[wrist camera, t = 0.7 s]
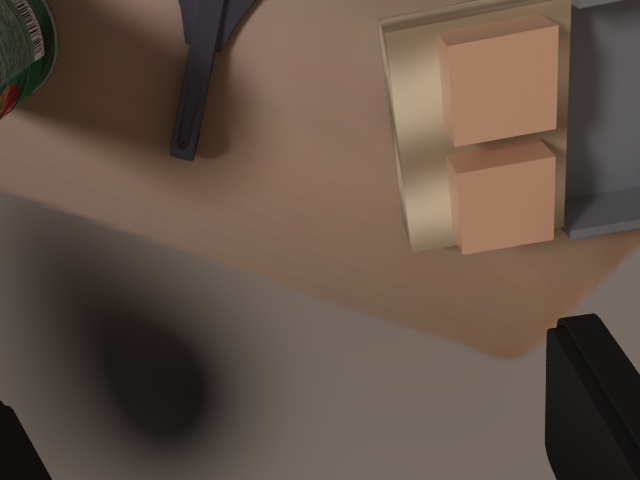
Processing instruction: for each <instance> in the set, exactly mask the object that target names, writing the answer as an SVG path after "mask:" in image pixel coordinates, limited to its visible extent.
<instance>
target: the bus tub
mask: <svg viewBox="0 0 640 480" xmlns="http://www.w3.org/2000/svg"><path fill="white" fill-rule="evenodd" d="M638 228H640V0H571V28H570V58H569V87H568V117H567V147H566V177H565V207H564V227H563V228H562V229H563V231H564V232H565V233H566V235H567V236H568V238H569V239H570V240H572V239H578V238H584V237H590V236H596V235H602V234H608V233H614V232H620V231H626V230H632V229H638Z"/></svg>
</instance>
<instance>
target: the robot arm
mask: <svg viewBox="0 0 640 480" xmlns="http://www.w3.org/2000/svg"><path fill="white" fill-rule="evenodd" d="M545 408H546V409H545V447H546V452H547V456H548V460H549V462H550V465H551V468H552V470H553V472H554V475H555V477H556V479H557V480H640V374H639V373H638V372H637V370H636V369H635V367H634V366H633V364H632V363H631V362H630V360H629V359H628V357H627V356H626V355H625V353H624V352H623V350H622V349H621V347H620V346H619V345H618V343H617V342H616V341H615V339H614V338H613V336H612V335H611V333H610V332H609V330H608V329H607V328H606V326H605V325H604V323H603V322H602V321H601V319H600V318H599V317H598V316H597V315H596V314H594V313H593V314H586V315H579V316H572V317H565V318H560V319H559V320H558V322H557V328H550V329H548V331H547V344H546V406H545ZM0 480H52V479H51V477H50V475H49V473H48V472H47V470H46V468H45V466H44V464H43V462H42V461H41V459H40V457H39V455H38V453H37V452H36V450H35V448H34V446H33V444H32V443H31V441H30V439H29V437H28V435H27V434H26V432H25V430H24V428H23V427H22V425H21V423H20V421H19V420H18V418H17V416H16V414H15V412H14V411H13V409H12V408H11V407H10V406H5V405H4V404H3V403H2V402H1V401H0Z"/></svg>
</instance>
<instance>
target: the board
mask: <svg viewBox="0 0 640 480" xmlns="http://www.w3.org/2000/svg"><path fill="white" fill-rule="evenodd" d="M536 14H541V15H543V16H544V17H546V18H548V19H549V20H551V21H553V22H554V23H556V24H558V25H559V35H558V77H557V120H556V129H553V130H548V131H542V132H536V133H531V134H525V135H520V136H514V137H509V138H503V139H497V140H492V141H486V142H481V143H475V144H470V145H464V146H459V147H454V145H453V143H452V141H451V140H450V138H449V136H448V134H447V133H446V131H445V129H444V118H443V105H442V93H441V80H440V67H439V55H438V42H437V34H438V33H443V32H448V31H453V30H458V29H464V28H469V27H474V26H479V25H484V24H490V23H495V22H500V21H505V20H510V19H516V18H521V17H526V16H531V15H536ZM378 24H379V31H380V39H381V47H382V55H383V63H384V71H385V79H386V87H387V95H388V102H389V110H390V118H391V126H392V134H393V142H394V150H395V158H396V165H397V173H398V181H399V189H400V197H401V205H402V213H403V221H404V228H405V231H406V235H407V238H408V242H409V245H410V248H411V252H412V253H415V252H421V251H427V250H433V249H439V248H445V247H451V246H457V245H458V244H457V241H456V239H455V237H454V234H453V232H452V219H451V207H450V194H449V181H448V169H447V156H446V154H452V153H457V152H463V151H468V150H474V149H480V148H485V147H491V146H496V145H502V144H507V143H513V142H519V141H524V140H530V139H535V138H539V139H540V140H541V141H542V142H543V143H544V144H545V145H546V146H547V148H548V149H549V150H550V151H551V152H552V153H553V154H554V155H555V156H556V163H555V205H554V229H557V228H563V227H564V207H565V177H566V147H567V117H568V87H569V58H570V28H571V0H478V1H473V2H468V3H463V4H457V5H452V6H447V7H442V8H437V9H432V10H427V11H422V12H417V13H411V14H406V15H401V16H396V17H391V18H386V19H381V20H378Z"/></svg>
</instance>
